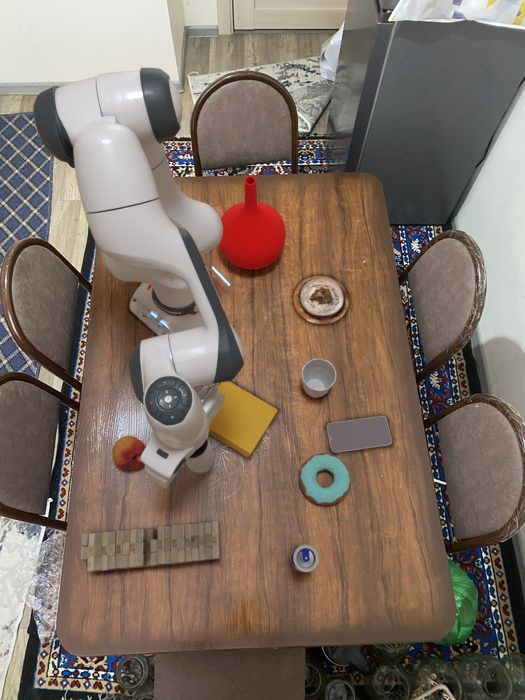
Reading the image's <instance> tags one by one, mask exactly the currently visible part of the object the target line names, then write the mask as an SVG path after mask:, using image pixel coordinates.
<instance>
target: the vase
mask: <svg viewBox="0 0 525 700" xmlns="http://www.w3.org/2000/svg"><path fill="white" fill-rule="evenodd" d="M220 219H221V221H222V225H223V235H222V239H221V242H220V244H219V245H218V246H219V248H220V250H221V252H222V253H223V254H224V255H225V257H226V258H227V259H228V260H229V262H230V263H232V264H233V265H234V266H236V267H238V268H241V269H245V270H259V269H262V268H263V269H264V268H266V267H268V266H269V265H271V264H272V263H273V262H274V261H276V260H277V258H278V257H279V255H280V254H281V252H282V251H283V248H284V247H285V243H286V238H287V237H286V236H287V231H286V225H285V222H284V220H283V217H282V216H281V213H280V212H278V210H277V209H276V208H274V207H273V206H271V205H270V204H269V203H268V204H267V203H265V202H262V201H258V193H257V180H256V177H255V176H253V175H248V176H246V177H245V178H244V201H241V202H238V203H236V204H233V205H232V206H229V208H227V210H225V211H224V213H223V214H222V216H220Z"/></svg>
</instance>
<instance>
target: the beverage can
mask: <svg viewBox="0 0 525 700" xmlns="http://www.w3.org/2000/svg"><path fill="white" fill-rule="evenodd" d="M319 561H320V557H319V553H318V551H317V549H316V548H315V547H314V546H313V545H310V544H301V545H299V546H297V547H296V548H294V549H293V550H292V551H291V553H290V555H289V563H290V566H291V567H292V569H293V570H295V571H296V572H299V573H310V572H312V571H314V570H315V569H316V568H317V567H318V565H319Z"/></svg>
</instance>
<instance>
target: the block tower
mask: <svg viewBox="0 0 525 700" xmlns="http://www.w3.org/2000/svg"><path fill="white" fill-rule="evenodd" d="M80 538H81V539H80V546H81V547H80V560H86V561H87V566H86V571H87V572H105V571H107V572H108V571H112V570H130V569H139V568H140V569H141V568H148V567H149V568H150V567H163V566H166V565H167V566H168V565H180V564H182V565H183V564H190V563H197V562H204V561H210V560H211V561H213V560H220V559H221V542H220V522H219V521H218V520H213V521H206V522H198V523H196V522H195V523H185V524H175V525H173V524H172V525H168V526H167V525H166V526H165V525H158V526H157V529H155V528H146V529H144V528H131V529H125V530H124V529H120V530H111V531H102V532H100V531H99V532H90V533H88V532H83V533H81V537H80Z"/></svg>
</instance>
